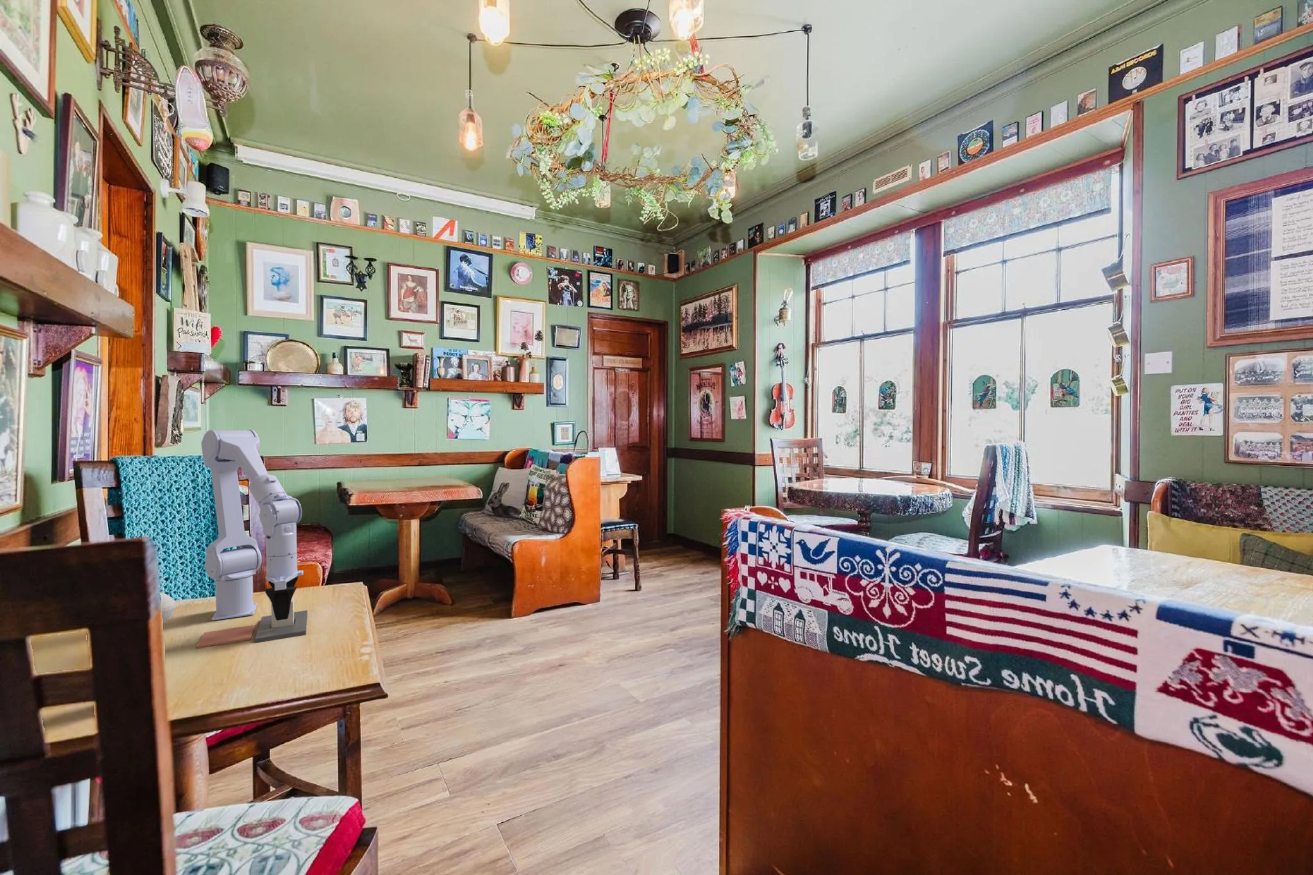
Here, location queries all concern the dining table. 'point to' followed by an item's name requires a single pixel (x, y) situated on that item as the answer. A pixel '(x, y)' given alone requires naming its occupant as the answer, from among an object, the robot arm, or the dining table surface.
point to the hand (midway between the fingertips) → (283, 614)
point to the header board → (281, 628)
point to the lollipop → (167, 606)
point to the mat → (226, 636)
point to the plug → (286, 621)
